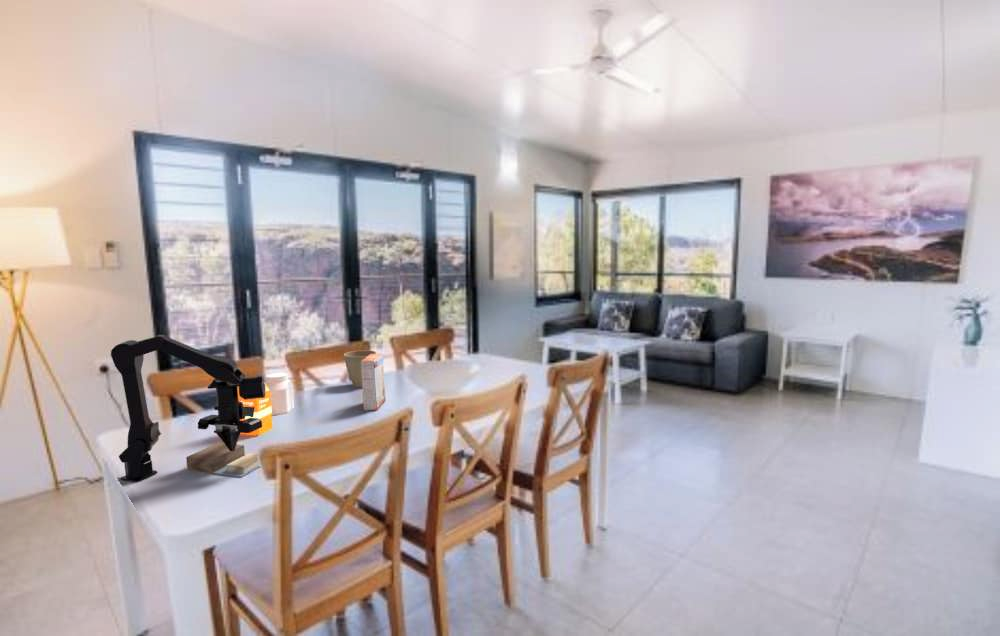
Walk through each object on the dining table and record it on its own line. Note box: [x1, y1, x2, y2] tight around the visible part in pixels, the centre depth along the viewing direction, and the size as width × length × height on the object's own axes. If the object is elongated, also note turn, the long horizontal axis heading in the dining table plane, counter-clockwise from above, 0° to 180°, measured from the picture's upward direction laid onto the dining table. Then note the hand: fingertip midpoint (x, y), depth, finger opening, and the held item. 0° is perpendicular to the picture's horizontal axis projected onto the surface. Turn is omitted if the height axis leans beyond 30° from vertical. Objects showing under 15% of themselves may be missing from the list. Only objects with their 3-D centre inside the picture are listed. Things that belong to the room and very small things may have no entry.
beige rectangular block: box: [227, 452, 259, 473], centre depth 154 cm, size 6×9×2 cm, turn 165°
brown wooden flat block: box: [185, 442, 246, 474], centre depth 157 cm, size 10×12×4 cm
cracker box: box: [361, 353, 386, 411], centre depth 213 cm, size 14×6×21 cm, turn 178°
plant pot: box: [343, 349, 377, 389], centre depth 246 cm, size 15×15×16 cm
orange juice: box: [237, 381, 273, 436], centre depth 184 cm, size 8×9×20 cm
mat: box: [212, 465, 261, 478], centre depth 155 cm, size 10×13×1 cm
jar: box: [265, 372, 295, 416], centre depth 209 cm, size 12×10×15 cm
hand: (232, 450), depth 155 cm, fingers closed
